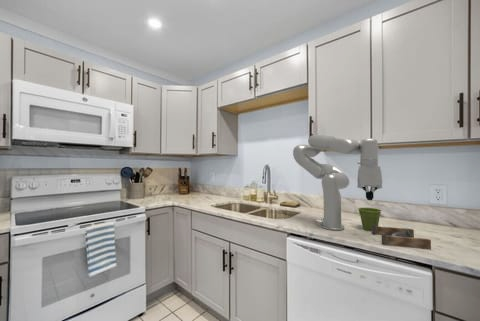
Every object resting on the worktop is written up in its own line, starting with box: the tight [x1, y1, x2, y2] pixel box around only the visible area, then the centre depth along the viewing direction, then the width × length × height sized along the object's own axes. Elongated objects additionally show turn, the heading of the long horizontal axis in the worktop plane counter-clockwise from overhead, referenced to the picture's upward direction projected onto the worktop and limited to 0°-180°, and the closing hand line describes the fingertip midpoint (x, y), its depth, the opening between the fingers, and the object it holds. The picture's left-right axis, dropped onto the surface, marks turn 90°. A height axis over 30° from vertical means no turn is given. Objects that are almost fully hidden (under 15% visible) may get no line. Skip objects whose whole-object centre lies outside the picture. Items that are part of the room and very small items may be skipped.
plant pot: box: [357, 207, 383, 232], centre depth 122 cm, size 12×12×11 cm
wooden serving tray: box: [371, 224, 432, 250], centre depth 103 cm, size 18×17×5 cm
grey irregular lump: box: [392, 228, 412, 237], centre depth 102 cm, size 10×7×12 cm
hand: (369, 199), depth 107 cm, fingers closed
